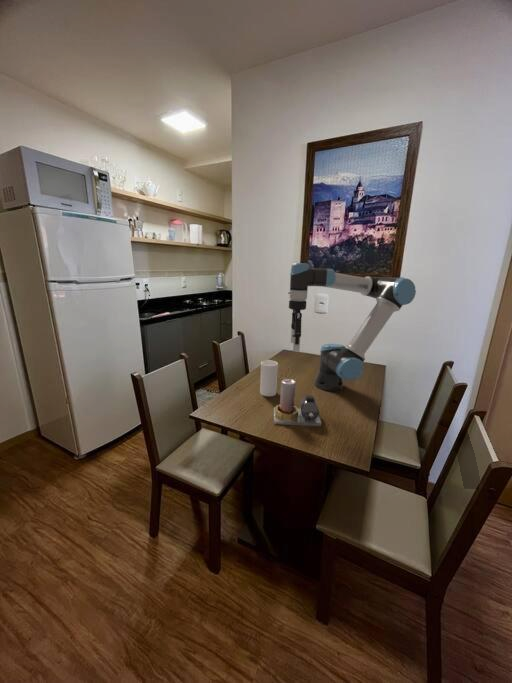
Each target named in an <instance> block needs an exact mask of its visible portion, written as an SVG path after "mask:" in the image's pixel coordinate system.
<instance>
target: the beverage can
mask: <svg viewBox="0 0 512 683" xmlns="http://www.w3.org/2000/svg"><path fill="white" fill-rule="evenodd" d="M296 386H297V385H296V380H294V379H291V378H284V379H282V380H281V383H280V392H279V393H280V395H279V396H280V398H279V404H280V412H282V413H287V414H292V413H294V406H295V398H296Z"/></svg>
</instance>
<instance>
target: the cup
mask: <svg viewBox="0 0 512 683" xmlns="http://www.w3.org/2000/svg"><path fill="white" fill-rule="evenodd" d="M278 368H279V363H278V362H277V360H276V361H275V360H269V359H268V360H267V359H266V360H263V361H261V362H260V381H259V382H260V383H259V384H260V385H259V393H260V395H261V396H264V397H274V396H276V395H277V389H278V388H277V386H278Z"/></svg>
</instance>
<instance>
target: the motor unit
mask: <svg viewBox="0 0 512 683" xmlns="http://www.w3.org/2000/svg"><path fill="white" fill-rule="evenodd" d="M319 410H320V409H319V407H318V404H317V401H316V400H315V397H314V395H305V396H303V397H301V399H300V400H299V408H298V406H296V405H294V413H292V414H287V413H282V412H280V403H279V404H278V405H275V407H273V424H274V425H289V426H306V427H322V420H321V417H320V411H319Z"/></svg>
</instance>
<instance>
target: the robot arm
mask: <svg viewBox="0 0 512 683" xmlns="http://www.w3.org/2000/svg"><path fill="white" fill-rule="evenodd" d="M289 276H290V278H289V281H290V284H289V291H288V293H287V294H288V295H289V299H290V300H288V308H289V309H290V310H292V312H291V325H290V326H291V332H290V344H292V352H300V346H301V337H302V318H303V313H302V312H301V311H304V310H306V309H307V299H308V288H309V287H323V288H329V289H334V290H335V289H336V290H341V291H348V292H353V293H354V292H355V293H359V294H361V295H362V296H365V297H370V298H373V299H375V301H376V304H374V306H373V307H372V309H371V311H370V312H369V314H368V315H367V317H366V318H365V319H364V321H363V323H362V324H361V325H360V327H359V329H358V330H357V332H356V333H355V334H354V336H353V337H352V338H351V340H350V342H349V343H348V344H345V345H344V344H339V343H338V344H337V343H324V344H322V345H321V348H320V355H319V356H320V357H319V369H318V372H317V374H316V376H315V379H314V385H315V386H316V387H317V388H319V389H321V390H324V391H329V392H335V391H336V392H337V391H340V390H343V388H344V381H343V380H346V381H352V380H353V381H354V380H356V379H359V378H360V376H361V375H362V373H363V372H364V365H365V364H364V362H365V360H366V357H365V354H366V353H367V351H368V350H369V348H370V347H371V346H372V344H373V343H374V341H375V340H376V338H377V336H378V335H379V334H380V333H381V331H382V330H383V328H384V327H385V325H386V323H387V322H388V321H389V319H390V318H391V317H392V315H393V314H394V313H395V312H399V311H400V310H401V308H403V306H406V305H408V304H411V303H412V302H413V301H414V299H415V297H416V294H417V293H416V292H417V290H416V285H415V283H414V282H413V281H412V280H411V279H409V278H405V277H402V276H401V277H392V276H369V275H367V276H365V277H362V276H357V275H356V276H355V275H351V274H344V273H339V272H335V270H334V269H333V268H314V267H313V268H311V267H310V264H309V263H308V262H307V263H304V262H303V263H301V262H293V263H292V264H291V268H290V275H289Z"/></svg>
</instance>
